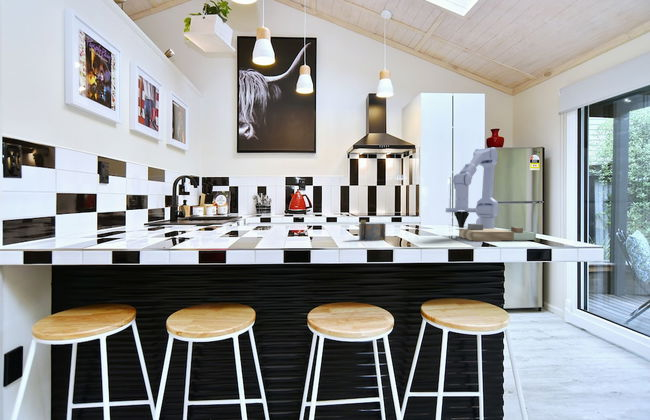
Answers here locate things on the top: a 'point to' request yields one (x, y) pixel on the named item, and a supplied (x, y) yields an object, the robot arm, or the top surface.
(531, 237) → the bin
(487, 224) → the robot arm
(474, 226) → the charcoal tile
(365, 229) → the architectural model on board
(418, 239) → the top surface
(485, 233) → the oak bench
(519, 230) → the walnut tile
